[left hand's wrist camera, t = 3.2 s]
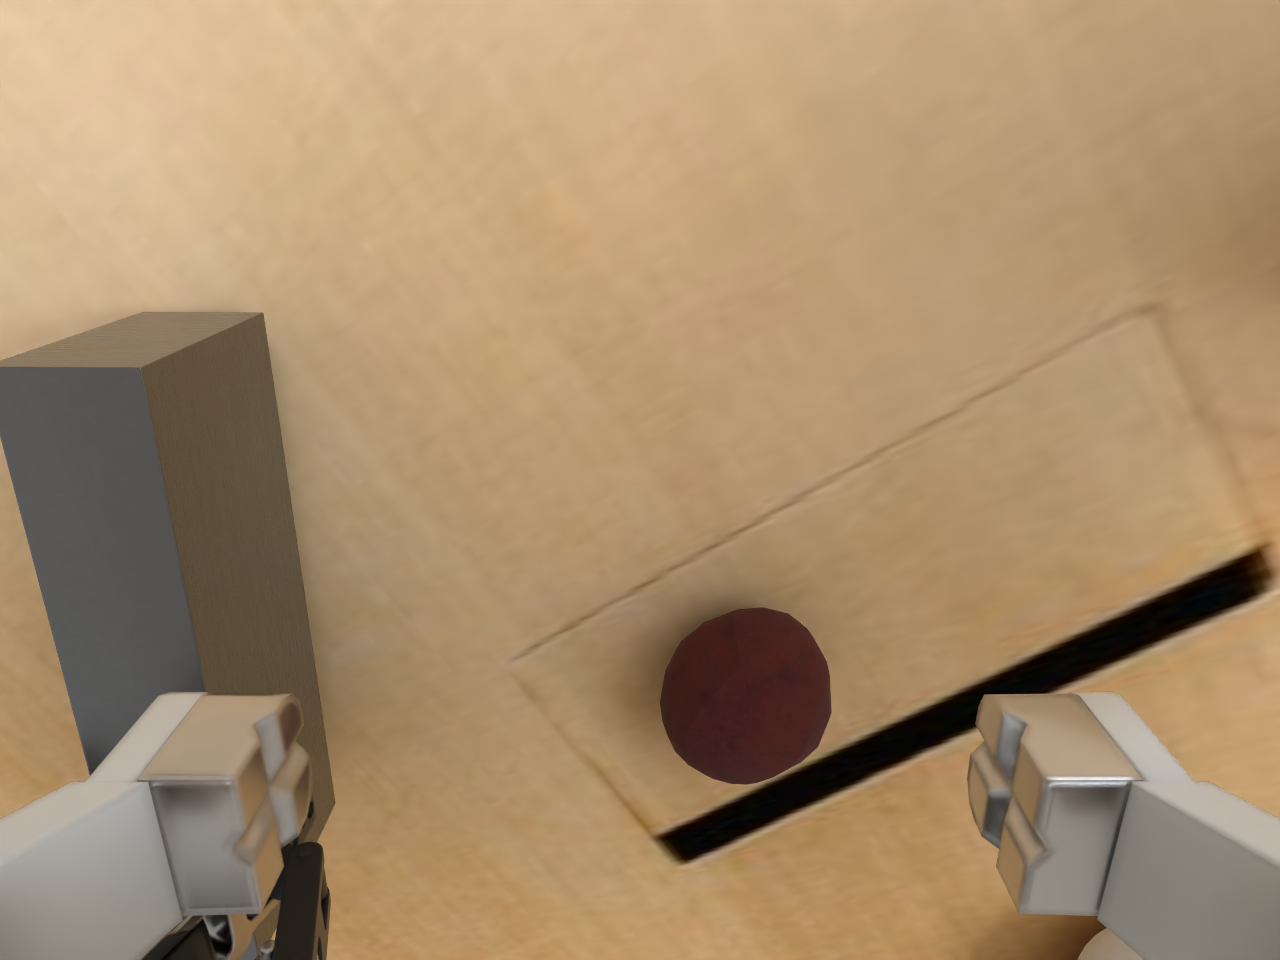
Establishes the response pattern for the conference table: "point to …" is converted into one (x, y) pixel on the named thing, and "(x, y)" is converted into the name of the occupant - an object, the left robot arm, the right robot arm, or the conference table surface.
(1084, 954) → the white slotted rounded block
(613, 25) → the conference table surface
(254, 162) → the conference table surface
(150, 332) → the bar
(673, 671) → the potato
